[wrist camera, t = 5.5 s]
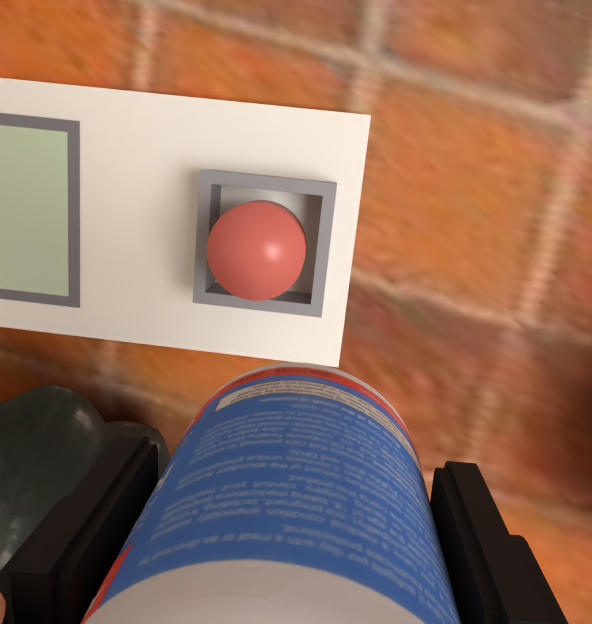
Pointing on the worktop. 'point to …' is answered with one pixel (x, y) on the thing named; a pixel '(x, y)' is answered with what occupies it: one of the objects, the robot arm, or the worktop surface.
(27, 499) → the squash
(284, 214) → the button
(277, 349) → the white flat board
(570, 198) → the worktop surface
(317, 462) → the pill bottle
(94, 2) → the worktop surface
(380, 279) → the worktop surface
